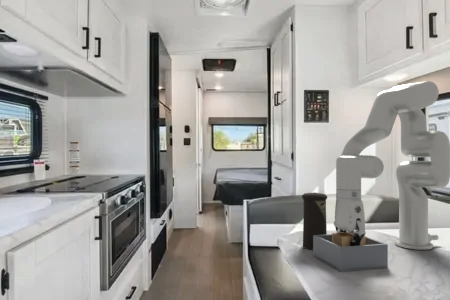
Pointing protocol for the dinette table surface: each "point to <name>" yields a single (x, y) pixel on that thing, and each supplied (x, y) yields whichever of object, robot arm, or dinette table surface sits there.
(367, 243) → the grey crate
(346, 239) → the wooden crate
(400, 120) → the robot arm
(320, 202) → the container
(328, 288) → the dinette table surface
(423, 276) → the dinette table surface
